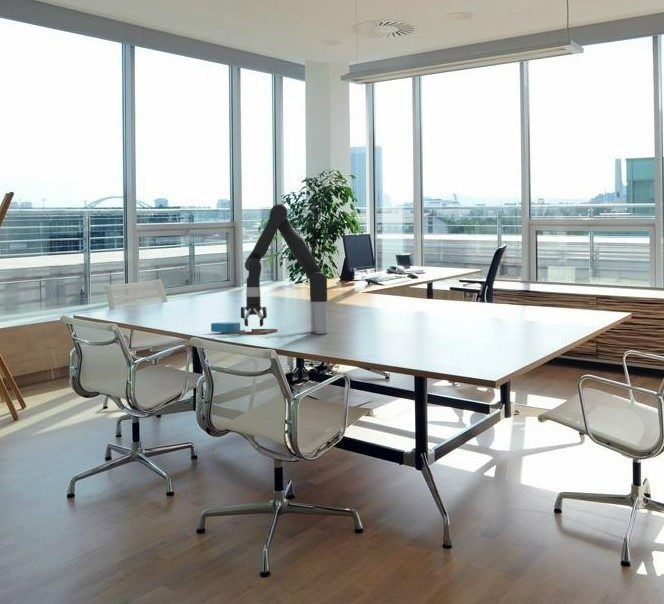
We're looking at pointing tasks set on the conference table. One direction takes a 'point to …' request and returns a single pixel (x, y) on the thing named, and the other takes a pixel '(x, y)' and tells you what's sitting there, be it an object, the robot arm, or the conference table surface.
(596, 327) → the conference table surface
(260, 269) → the robot arm
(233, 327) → the data package
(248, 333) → the brown wooden frame
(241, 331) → the rubber mat
